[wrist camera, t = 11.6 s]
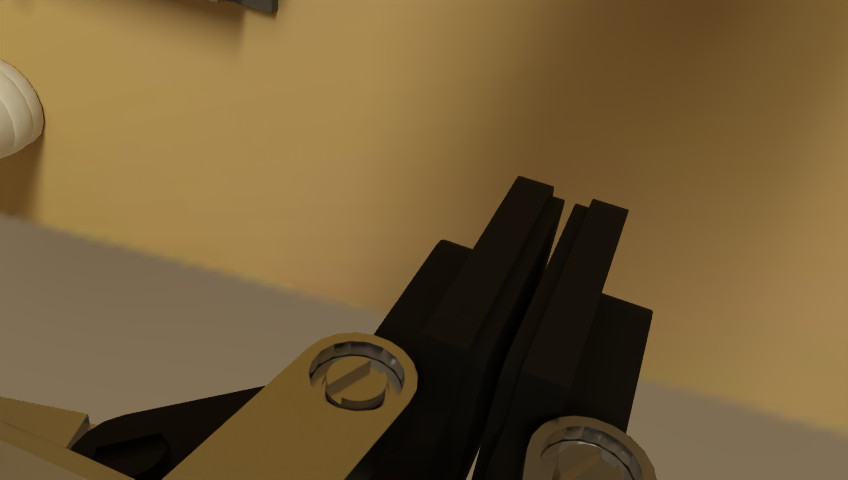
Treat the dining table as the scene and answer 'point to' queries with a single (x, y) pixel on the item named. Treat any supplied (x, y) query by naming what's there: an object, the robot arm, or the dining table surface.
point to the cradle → (256, 4)
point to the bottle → (17, 111)
